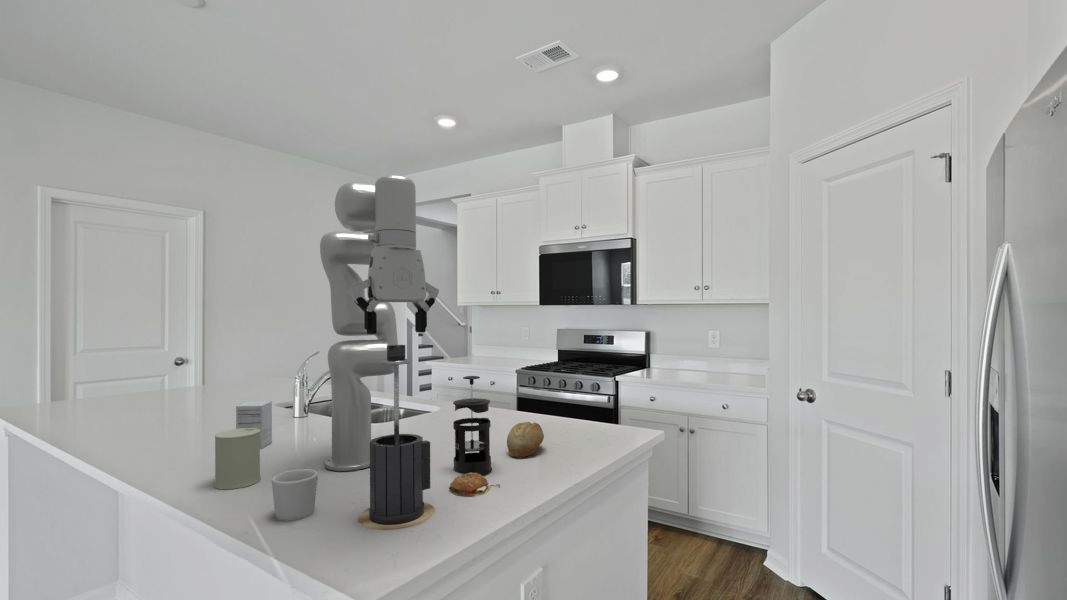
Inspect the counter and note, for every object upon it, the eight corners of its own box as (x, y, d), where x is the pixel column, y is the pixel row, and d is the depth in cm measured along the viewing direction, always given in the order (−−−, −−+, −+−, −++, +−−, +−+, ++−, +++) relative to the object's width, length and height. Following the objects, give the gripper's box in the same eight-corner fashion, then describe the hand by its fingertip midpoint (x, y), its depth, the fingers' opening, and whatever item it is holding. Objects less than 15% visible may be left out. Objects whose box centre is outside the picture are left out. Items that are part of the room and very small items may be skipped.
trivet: (346, 516, 96) (346, 512, 96) (415, 498, 104) (415, 494, 104) (374, 542, 85) (374, 537, 85) (448, 519, 93) (448, 515, 93)
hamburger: (501, 507, 101) (500, 476, 101) (434, 503, 103) (434, 473, 103) (515, 483, 115) (515, 456, 115) (456, 480, 117) (456, 454, 117)
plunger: (375, 458, 95) (374, 345, 96) (405, 452, 99) (404, 343, 100) (387, 466, 91) (387, 346, 91) (418, 459, 94) (417, 345, 95)
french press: (476, 480, 115) (475, 379, 116) (443, 475, 119) (442, 377, 120) (502, 466, 126) (501, 373, 126) (470, 461, 130) (470, 372, 130)
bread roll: (548, 445, 145) (547, 417, 145) (537, 460, 131) (537, 429, 131) (515, 444, 147) (515, 416, 147) (502, 458, 133) (501, 428, 133)
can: (269, 478, 119) (269, 427, 119) (235, 491, 110) (235, 436, 110) (240, 474, 122) (240, 424, 122) (204, 487, 113) (204, 433, 113)
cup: (287, 505, 102) (287, 465, 102) (328, 503, 103) (328, 463, 103) (263, 527, 91) (263, 483, 91) (309, 525, 92) (309, 481, 92)
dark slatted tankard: (361, 512, 95) (360, 439, 96) (417, 498, 103) (417, 429, 103) (381, 530, 88) (381, 450, 88) (440, 513, 95) (440, 439, 95)
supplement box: (246, 443, 151) (246, 401, 152) (272, 442, 152) (272, 400, 152) (235, 450, 144) (235, 405, 144) (262, 449, 145) (262, 404, 145)
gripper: (357, 236, 87) (357, 335, 87) (446, 243, 98) (447, 331, 97) (343, 241, 93) (343, 334, 93) (428, 248, 104) (429, 331, 103)
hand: (396, 333), depth 95 cm, fingers open, 9 cm apart
